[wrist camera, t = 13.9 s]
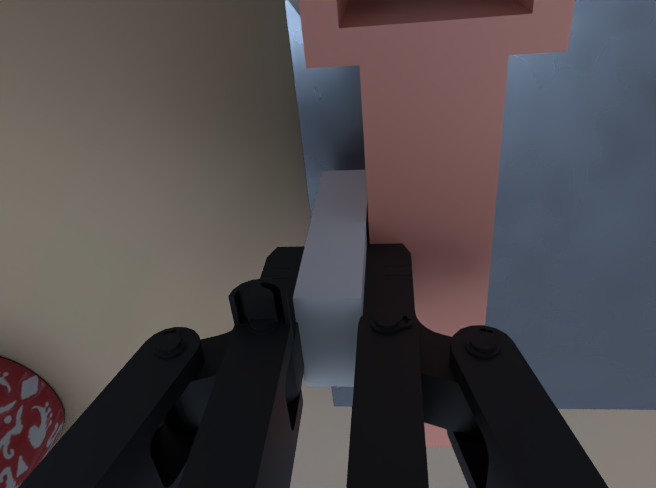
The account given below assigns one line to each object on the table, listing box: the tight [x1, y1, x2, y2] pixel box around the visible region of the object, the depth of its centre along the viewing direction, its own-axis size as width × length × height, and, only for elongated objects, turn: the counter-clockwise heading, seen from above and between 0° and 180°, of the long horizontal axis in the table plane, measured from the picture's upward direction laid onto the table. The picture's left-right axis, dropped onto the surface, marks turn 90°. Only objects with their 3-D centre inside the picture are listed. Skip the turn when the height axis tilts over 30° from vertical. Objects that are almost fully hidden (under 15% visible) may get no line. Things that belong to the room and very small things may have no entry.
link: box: [299, 0, 575, 447], centre depth 16 cm, size 19×6×5 cm, turn 5°
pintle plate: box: [285, 0, 656, 410], centre depth 17 cm, size 28×22×1 cm
